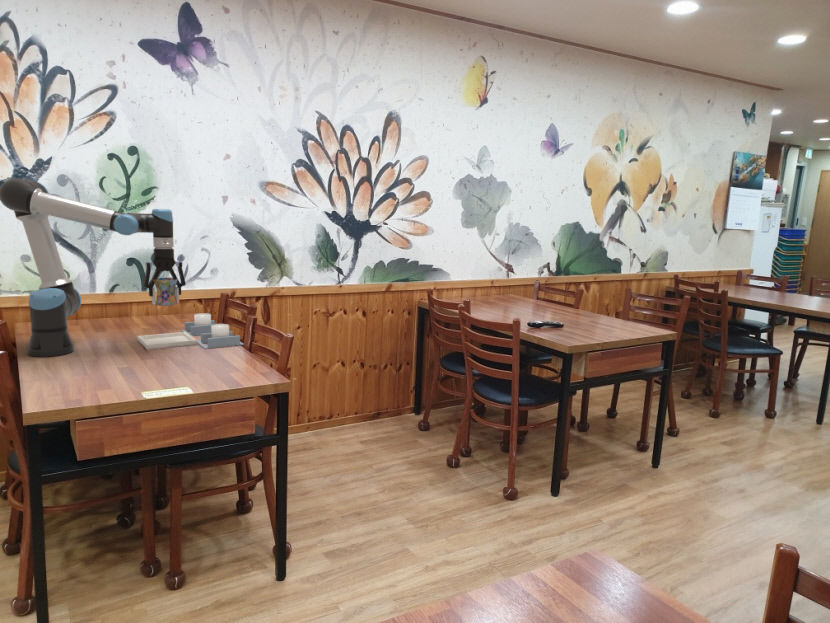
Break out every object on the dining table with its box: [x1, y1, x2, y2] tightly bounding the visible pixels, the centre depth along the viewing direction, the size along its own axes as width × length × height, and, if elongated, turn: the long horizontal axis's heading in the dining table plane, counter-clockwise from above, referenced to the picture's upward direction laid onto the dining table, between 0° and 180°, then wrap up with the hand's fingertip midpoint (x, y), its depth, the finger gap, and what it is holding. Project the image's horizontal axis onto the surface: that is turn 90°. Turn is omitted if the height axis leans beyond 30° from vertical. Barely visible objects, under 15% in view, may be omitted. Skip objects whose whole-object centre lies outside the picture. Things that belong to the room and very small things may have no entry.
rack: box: [181, 319, 244, 350], centre depth 263 cm, size 16×35×4 cm, turn 35°
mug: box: [153, 277, 179, 307], centre depth 248 cm, size 12×9×11 cm
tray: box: [137, 331, 197, 351], centre depth 251 cm, size 19×17×2 cm
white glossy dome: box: [193, 312, 212, 326], centre depth 272 cm, size 7×7×8 cm
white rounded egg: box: [211, 323, 230, 338], centre depth 252 cm, size 7×7×8 cm
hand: (165, 303), depth 249 cm, fingers closed on mug, 8 cm apart
